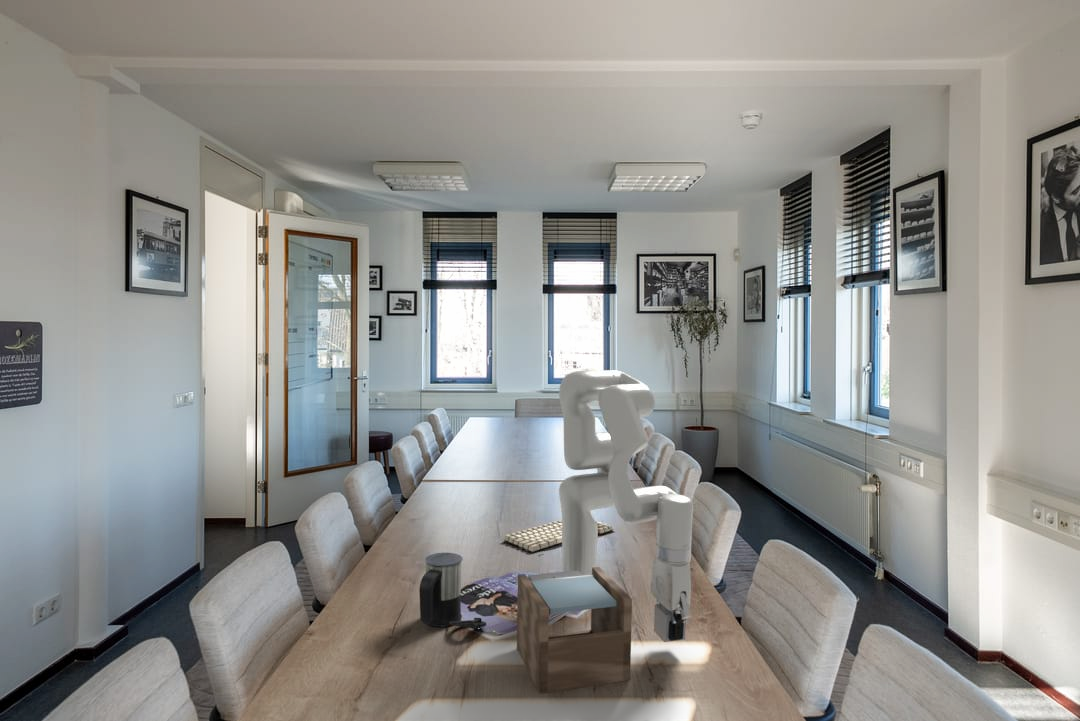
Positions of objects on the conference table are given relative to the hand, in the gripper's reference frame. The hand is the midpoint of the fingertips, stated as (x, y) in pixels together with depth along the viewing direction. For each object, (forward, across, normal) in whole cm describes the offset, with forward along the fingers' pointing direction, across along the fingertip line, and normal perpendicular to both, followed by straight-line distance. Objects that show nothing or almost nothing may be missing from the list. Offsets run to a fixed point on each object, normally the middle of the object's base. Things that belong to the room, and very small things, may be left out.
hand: (669, 631), depth 138 cm
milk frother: (+5, -24, -44) cm, 50 cm away
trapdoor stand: (+4, 0, -23) cm, 23 cm away
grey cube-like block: (+1, 0, 0) cm, 1 cm away
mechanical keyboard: (+7, -79, +1) cm, 80 cm away
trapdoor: (-5, -3, -23) cm, 24 cm away
